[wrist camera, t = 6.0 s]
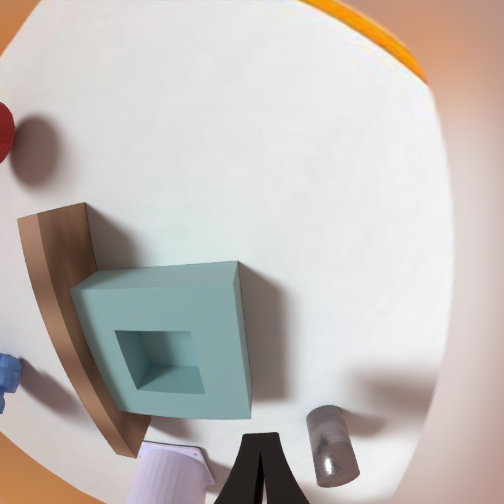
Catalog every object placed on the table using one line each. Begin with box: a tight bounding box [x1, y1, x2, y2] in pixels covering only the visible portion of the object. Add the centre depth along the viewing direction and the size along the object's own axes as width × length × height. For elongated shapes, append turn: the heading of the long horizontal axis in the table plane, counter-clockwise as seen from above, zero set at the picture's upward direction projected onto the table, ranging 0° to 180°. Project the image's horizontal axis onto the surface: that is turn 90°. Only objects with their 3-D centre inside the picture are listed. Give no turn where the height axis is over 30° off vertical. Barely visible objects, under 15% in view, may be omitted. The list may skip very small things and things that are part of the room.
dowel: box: [306, 405, 360, 488], centre depth 17 cm, size 3×3×7 cm
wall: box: [17, 202, 151, 458], centre depth 16 cm, size 20×2×5 cm, turn 5°
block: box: [70, 261, 252, 420], centre depth 17 cm, size 10×10×4 cm
